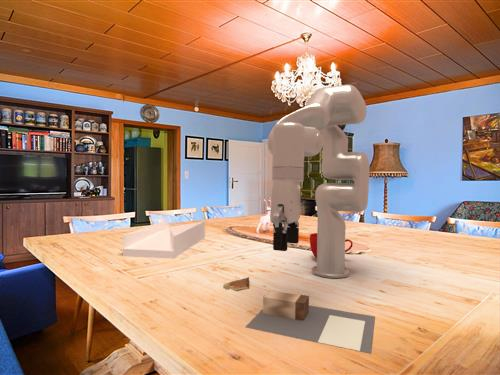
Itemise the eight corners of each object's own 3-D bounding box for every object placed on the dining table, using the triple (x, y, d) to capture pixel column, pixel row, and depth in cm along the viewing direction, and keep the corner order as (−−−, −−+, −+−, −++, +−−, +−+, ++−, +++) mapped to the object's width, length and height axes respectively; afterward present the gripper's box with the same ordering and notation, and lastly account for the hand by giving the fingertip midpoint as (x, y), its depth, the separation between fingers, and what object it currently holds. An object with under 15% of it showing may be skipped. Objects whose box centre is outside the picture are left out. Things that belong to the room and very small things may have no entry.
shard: (248, 281, 106) (248, 276, 106) (265, 287, 101) (265, 281, 101) (222, 288, 99) (222, 283, 99) (238, 296, 93) (238, 289, 93)
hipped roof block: (174, 259, 133) (174, 236, 132) (123, 257, 136) (123, 234, 135) (204, 238, 177) (204, 221, 177) (165, 237, 180) (165, 220, 180)
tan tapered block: (263, 313, 79) (263, 296, 79) (270, 305, 84) (270, 289, 84) (303, 320, 75) (303, 303, 75) (308, 312, 80) (309, 295, 80)
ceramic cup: (354, 266, 124) (354, 240, 124) (308, 263, 128) (309, 237, 127) (350, 257, 137) (351, 234, 137) (309, 255, 140) (310, 232, 140)
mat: (272, 301, 88) (272, 298, 88) (375, 318, 78) (375, 316, 78) (244, 329, 72) (244, 326, 72) (370, 356, 62) (370, 353, 62)
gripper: (283, 175, 88) (282, 239, 88) (260, 174, 72) (258, 252, 72) (311, 176, 85) (310, 241, 85) (293, 174, 69) (291, 255, 69)
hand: (286, 246), depth 79 cm, fingers open, 9 cm apart
